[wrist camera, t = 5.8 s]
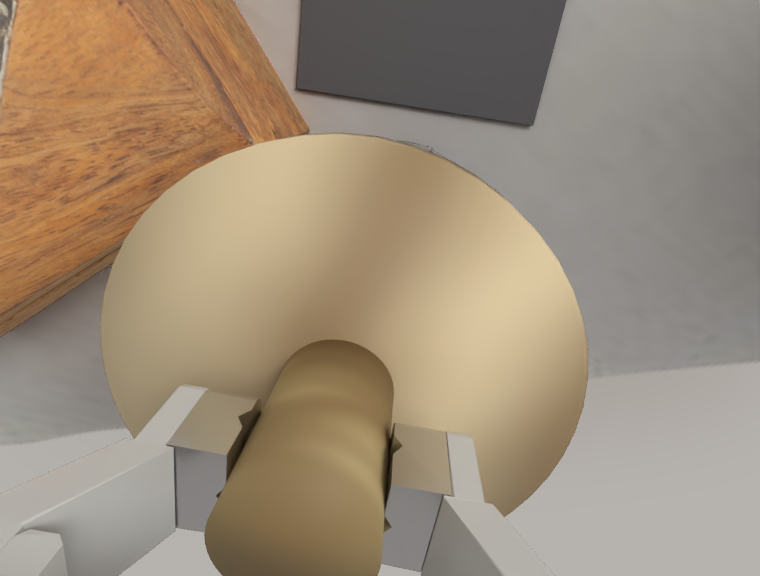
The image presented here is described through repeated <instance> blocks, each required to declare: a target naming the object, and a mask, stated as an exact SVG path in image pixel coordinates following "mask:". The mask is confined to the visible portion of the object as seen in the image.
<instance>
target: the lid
mask: <svg viewBox="0 0 760 576" xmlns="http://www.w3.org/2000/svg"><path fill="white" fill-rule="evenodd" d="M101 350H102V356H103V362H104V368H105V374H106V377H107V380H108V383H109V387H110V390H111V393H112V396H113V399H114V402H115V404H116V406H117V408H118V410H119V412H120V415H121V417H122V419H123V421H124V423H125V425H126V427H127V428H128V430H129V431H130V433H131V434H132V436H133V438H134V439H135V437H136V436H137V435H138V434H139V433H140V431H141V430H142V429H143V428H144V427H145V426H146V424H147V423H148V422H149V421H150V420H151V419H152V417H153V416H154V415H155V414H156V413H157V412H158V410H159V409H160V408H161V407H162V406H163V405H164V403H165V402H166V401H167V400H168V399H169V397H170V396H171V395H172V394H173V393H174V392H175V390H176V389H177V388H178V387H179V386H181V385H184V384H190V385H195V386H200V387H205V388H209V389H211V388H212V389H217V390H222V391H227V392H231V393H236V394H241V395H246V396H251V397H256V398H260V399H261V401H262V412H261V414H260V416H259V418H258V420H257V422H256V424H255V426H254V428H253V430H252V432H251V434H250V436H249V438H248V440H247V442H246V444H245V446H244V448H243V450H242V452H241V454H240V456H239V458H238V460H237V462H236V464H235V466H234V468H233V470H232V472H231V474H230V476H229V478H228V480H227V482H226V484H225V486H224V488H223V490H222V492H221V494H220V496H219V498H218V500H217V502H216V504H215V506H214V508H213V510H212V512H211V514H210V516H209V518H208V520H207V523H206V527H205V545H206V548H207V552H208V554H209V557H210V559H211V560H212V562H213V564H214V565H215V567H216V568H217V569H218V571H219V572H220V573H221V575H223V576H377V575H378V572H379V569H380V565H381V557H382V543H383V530H384V517H385V516H384V512H385V499H386V485H387V477H388V459H389V446H390V437H391V432H392V428H393V425H394V422H395V423H400V424H406V425H412V426H418V427H424V428H429V429H435V430H441V431H452V432H459V433H465V434H470V435H471V436H472V437H473V440H474V446H475V451H476V457H477V462H478V468H479V473H480V479H481V484H482V490H483V495H484V501H485V503H488V504H493V505H494V506H495V507H496V508H497V510H498V511H499V512H500V513H501V514H502V515H503V516H504V517H505V516H506V515H508V514H509V513H511V512H512V511H513V510H514V509H516V508H517V507H518V506H519V505H521V504H522V503H523V502H524V501H525V500H527V499H528V498H529V497H530V496H531V495H532V494H533V493H534V492H535V491H536V490H537V489H538V488H539V486H540V485H541V484H542V483H543V482H544V481H545V480H546V479H547V478H548V476H549V475H550V474H551V472H552V471H553V469H554V468H555V466H556V465H557V464H558V462H559V461H560V459H561V458H562V456H563V455H564V453H565V451H566V449H567V447H568V445H569V443H570V441H571V439H572V437H573V435H574V433H575V430H576V427H577V424H578V421H579V418H580V415H581V412H582V408H583V405H584V398H585V393H586V387H587V380H588V348H587V341H586V335H585V329H584V323H583V318H582V315H581V312H580V309H579V306H578V303H577V300H576V297H575V294H574V291H573V288H572V286H571V284H570V282H569V281H568V279H567V277H566V275H565V273H564V271H563V269H562V267H561V265H560V263H559V261H558V259H557V258H556V257H555V255H554V254H553V252H552V251H551V250H550V248H549V247H548V245H547V244H546V243H545V241H544V240H543V239H542V237H541V236H540V234H539V233H538V232H537V231H536V230H535V229H534V228H533V227H532V226H531V224H530V223H529V222H528V221H527V220H526V219H525V218H524V217H523V216H522V215H521V214H520V213H519V212H518V211H517V210H516V209H515V208H514V207H513V206H512V205H511V204H510V203H509V202H508V201H507V200H506V199H505V198H504V197H503V196H502V195H501V194H499V193H498V192H497V191H496V190H494V189H493V188H492V187H490V186H489V185H488V184H486V183H485V182H484V181H483V180H481V179H480V178H479V177H477V176H476V175H474V174H473V173H471V172H469V171H467V170H466V169H464V168H462V167H460V166H459V165H457V164H455V163H453V162H452V161H450V160H448V159H446V158H444V157H442V156H439V155H437V154H434V153H432V152H429V151H426V150H424V149H421V148H419V147H416V146H414V145H411V144H407V143H403V142H398V141H394V140H390V139H386V138H382V137H378V136H369V135H359V134H349V133H323V134H305V135H300V136H294V137H289V138H283V139H277V140H272V141H268V142H264V143H260V144H256V145H253V146H250V147H247V148H244V149H241V150H238V151H235V152H232V153H230V154H227V155H224V156H222V157H220V158H218V159H216V160H214V161H212V162H210V163H208V164H206V165H204V166H202V167H200V168H198V169H196V170H194V171H192V172H191V173H190V174H188V175H187V176H186V177H184V178H183V179H181V180H180V181H179V182H177V183H176V184H175V185H173V186H172V187H171V188H169V189H168V190H166V191H165V192H164V193H163V194H162V195H161V196H160V197H159V198H158V199H157V200H156V201H155V202H154V203H153V204H152V205H151V206H150V207H149V208H148V209H147V210H146V211H145V212H144V213H143V215H142V216H141V217H140V219H139V220H138V222H137V223H136V224H135V226H134V227H133V229H132V230H131V231H130V233H129V234H128V236H127V237H126V239H125V240H124V242H123V245H122V247H121V249H120V251H119V253H118V255H117V257H116V259H115V261H114V263H113V265H112V268H111V272H110V275H109V278H108V282H107V285H106V288H105V292H104V298H103V305H102V313H101Z"/></svg>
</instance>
